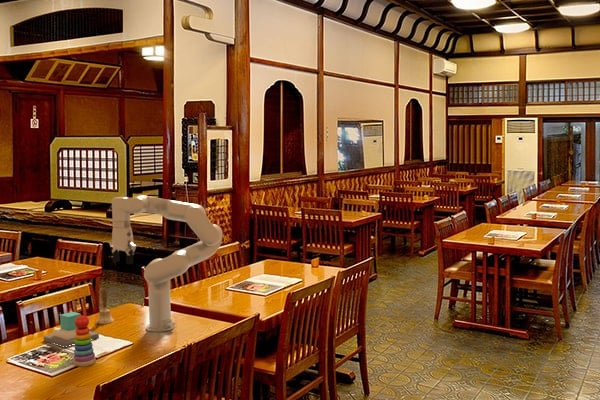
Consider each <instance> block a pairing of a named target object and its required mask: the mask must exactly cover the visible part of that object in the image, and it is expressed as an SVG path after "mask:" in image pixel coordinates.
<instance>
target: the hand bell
mask: <svg viewBox="0 0 600 400" xmlns="http://www.w3.org/2000/svg"><path fill="white" fill-rule="evenodd" d="M101 300H102V309H100V310H99V316H98V318H97V319H96V320H95V323H96V324H99V325H106V324H107V323H108V324H111V323H114V322H115V319H114V318H113V317H112V314H111V310H110V309H109V308H107V307H108V305H107V300H108V291H107V288H105V287H103V288H102V291H101Z"/></svg>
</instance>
